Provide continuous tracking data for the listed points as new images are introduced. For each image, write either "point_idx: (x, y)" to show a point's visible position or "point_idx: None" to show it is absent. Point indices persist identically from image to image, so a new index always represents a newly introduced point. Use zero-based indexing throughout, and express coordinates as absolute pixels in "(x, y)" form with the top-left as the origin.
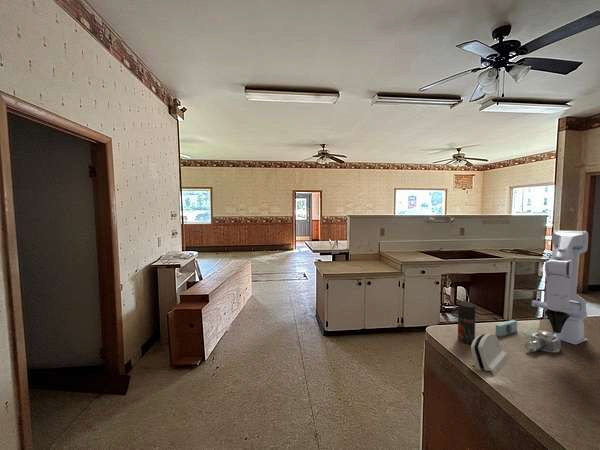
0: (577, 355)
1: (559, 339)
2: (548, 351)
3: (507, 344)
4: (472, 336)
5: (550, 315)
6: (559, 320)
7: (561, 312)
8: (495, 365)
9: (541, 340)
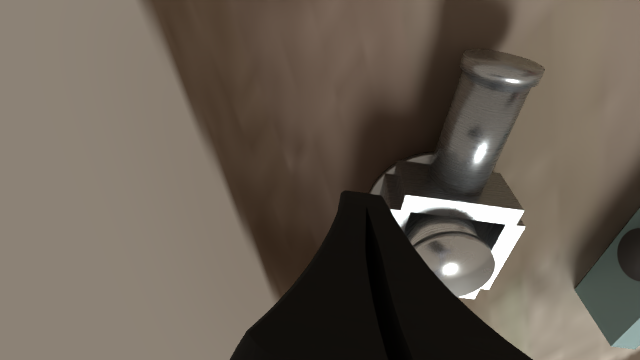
0: (302, 225)
1: None
2: (404, 160)
3: (636, 61)
4: None
5: (448, 349)
6: (307, 296)
7: None
8: None
9: (454, 190)
